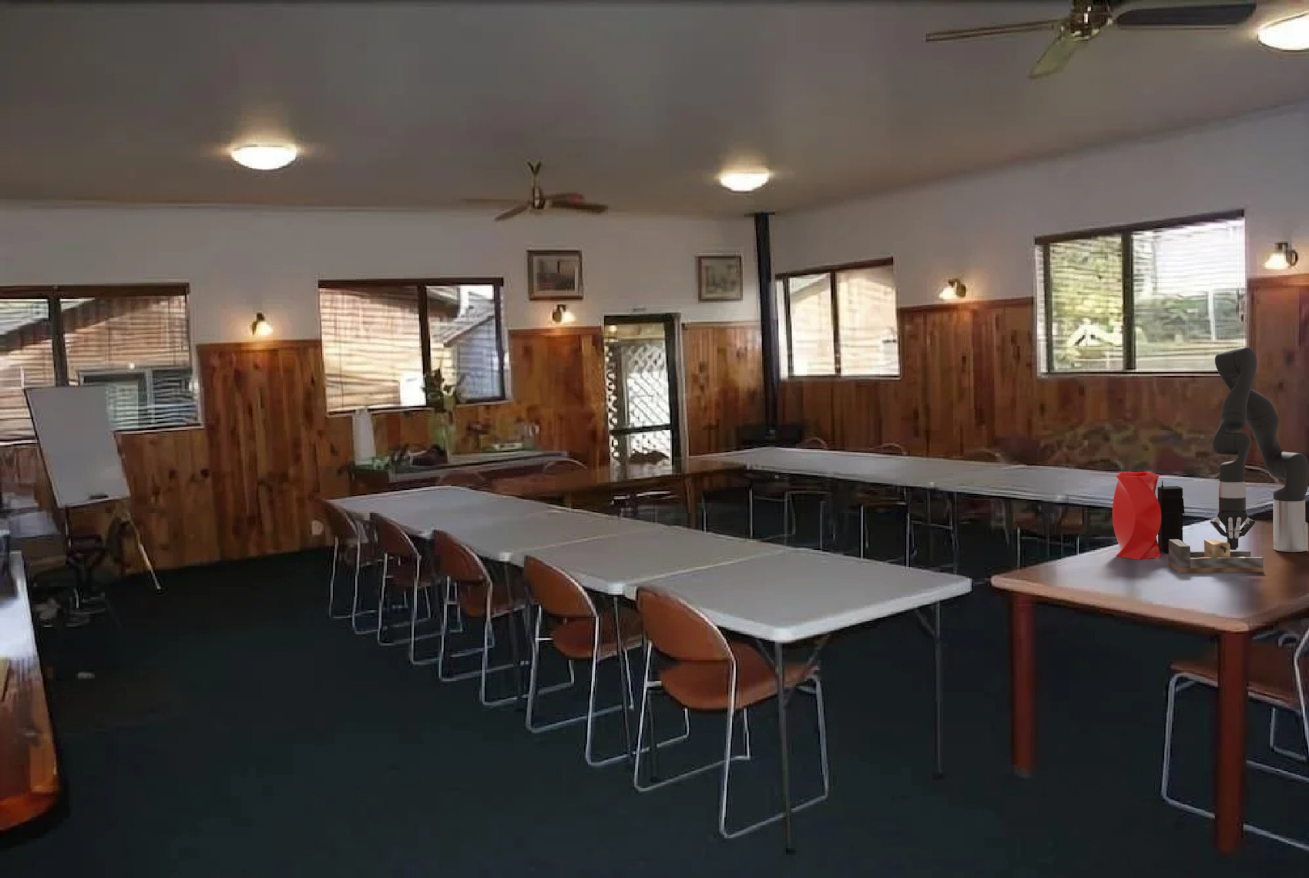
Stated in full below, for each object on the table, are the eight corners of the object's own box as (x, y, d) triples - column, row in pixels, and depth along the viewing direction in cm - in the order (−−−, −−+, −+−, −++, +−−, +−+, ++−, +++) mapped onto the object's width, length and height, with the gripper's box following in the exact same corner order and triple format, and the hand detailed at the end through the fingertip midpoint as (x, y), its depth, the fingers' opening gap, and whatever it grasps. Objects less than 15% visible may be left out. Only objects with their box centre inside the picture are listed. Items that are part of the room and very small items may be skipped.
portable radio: (1180, 549, 363) (1179, 478, 361) (1187, 553, 357) (1186, 480, 355) (1156, 550, 364) (1155, 479, 362) (1163, 553, 358) (1162, 481, 356)
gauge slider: (1221, 560, 335) (1220, 539, 335) (1234, 567, 324) (1233, 546, 323) (1204, 560, 336) (1204, 539, 336) (1216, 567, 325) (1216, 546, 324)
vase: (1164, 559, 349) (1163, 476, 347) (1118, 559, 352) (1116, 477, 350) (1152, 550, 364) (1151, 471, 362) (1108, 551, 367) (1106, 472, 364)
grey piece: (1249, 564, 335) (1248, 538, 335) (1263, 572, 324) (1263, 545, 323) (1168, 565, 340) (1168, 539, 339) (1180, 573, 328) (1179, 546, 328)
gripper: (1250, 493, 331) (1250, 546, 333) (1205, 494, 334) (1206, 547, 335) (1259, 496, 324) (1260, 551, 325) (1213, 497, 326) (1214, 552, 328)
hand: (1232, 549), depth 330 cm, fingers closed
